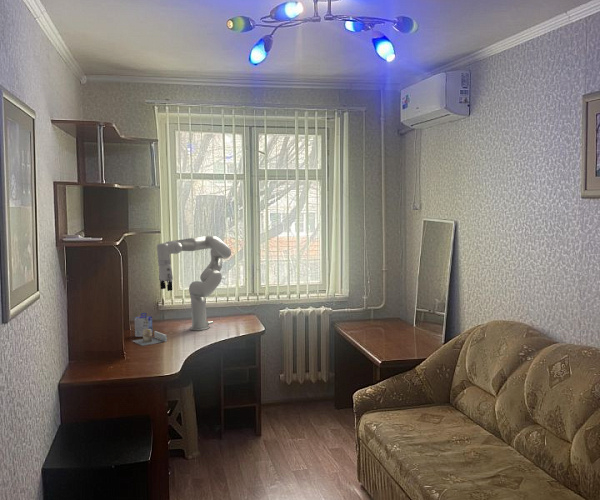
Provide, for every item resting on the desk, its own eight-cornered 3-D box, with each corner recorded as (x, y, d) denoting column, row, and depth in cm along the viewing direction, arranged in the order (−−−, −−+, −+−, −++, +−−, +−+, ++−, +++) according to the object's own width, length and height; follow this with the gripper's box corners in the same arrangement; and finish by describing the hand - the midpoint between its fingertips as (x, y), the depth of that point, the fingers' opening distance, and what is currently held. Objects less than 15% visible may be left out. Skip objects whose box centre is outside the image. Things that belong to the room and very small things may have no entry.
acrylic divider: (155, 337, 370) (155, 331, 370) (166, 341, 358) (166, 335, 357) (154, 337, 370) (154, 331, 369) (165, 341, 357) (165, 335, 357)
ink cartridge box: (153, 335, 377) (152, 312, 376) (149, 337, 371) (148, 314, 370) (139, 334, 379) (137, 312, 378) (134, 336, 373) (133, 314, 372)
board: (152, 337, 369) (152, 337, 369) (163, 342, 356) (162, 341, 356) (132, 341, 361) (132, 340, 361) (142, 346, 348) (142, 345, 348)
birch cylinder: (149, 339, 362) (149, 328, 362) (153, 341, 358) (152, 329, 358) (141, 341, 359) (141, 329, 358) (145, 342, 355) (144, 330, 355)
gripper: (176, 263, 367) (178, 290, 369) (163, 261, 380) (166, 287, 382) (164, 264, 362) (167, 292, 364) (153, 262, 376) (155, 289, 378)
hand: (166, 289), depth 373 cm, fingers open, 9 cm apart
